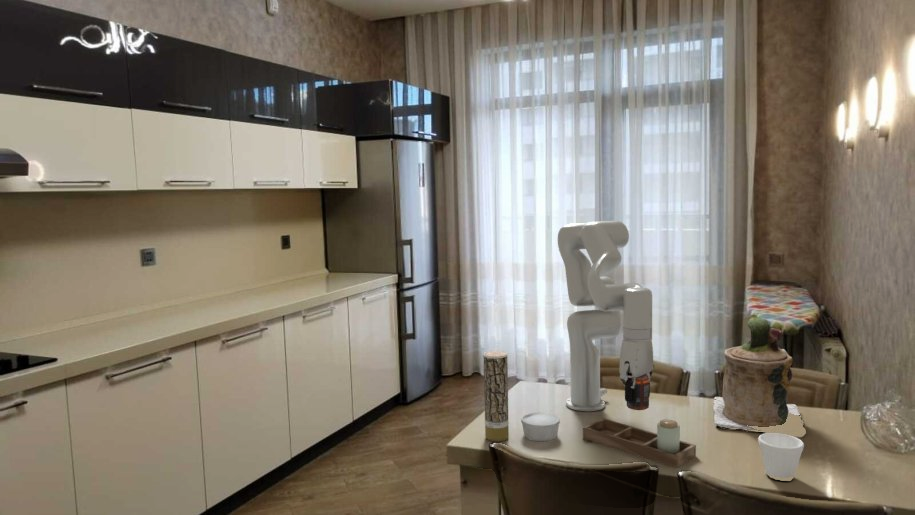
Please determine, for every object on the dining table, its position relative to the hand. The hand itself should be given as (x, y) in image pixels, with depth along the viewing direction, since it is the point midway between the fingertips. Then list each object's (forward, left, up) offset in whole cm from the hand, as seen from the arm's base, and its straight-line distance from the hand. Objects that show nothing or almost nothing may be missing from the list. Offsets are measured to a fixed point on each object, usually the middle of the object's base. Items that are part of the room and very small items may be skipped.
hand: (637, 398), depth 174 cm
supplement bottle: (0, 0, -3) cm, 3 cm away
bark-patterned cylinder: (+21, -33, -15) cm, 42 cm away
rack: (0, 0, -14) cm, 14 cm away
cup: (-9, +34, -15) cm, 38 cm away
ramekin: (+11, -25, -15) cm, 31 cm away
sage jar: (0, +9, -14) cm, 17 cm away
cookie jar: (-44, +14, -15) cm, 48 cm away
